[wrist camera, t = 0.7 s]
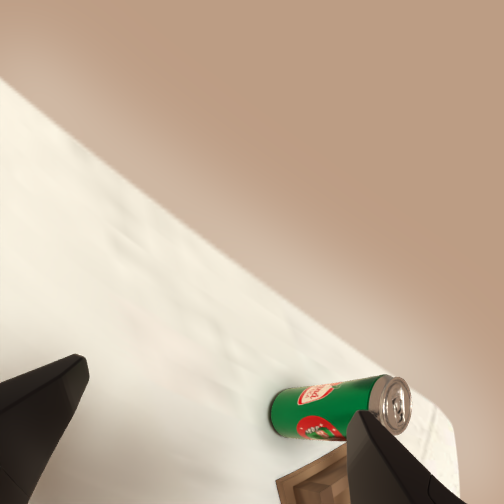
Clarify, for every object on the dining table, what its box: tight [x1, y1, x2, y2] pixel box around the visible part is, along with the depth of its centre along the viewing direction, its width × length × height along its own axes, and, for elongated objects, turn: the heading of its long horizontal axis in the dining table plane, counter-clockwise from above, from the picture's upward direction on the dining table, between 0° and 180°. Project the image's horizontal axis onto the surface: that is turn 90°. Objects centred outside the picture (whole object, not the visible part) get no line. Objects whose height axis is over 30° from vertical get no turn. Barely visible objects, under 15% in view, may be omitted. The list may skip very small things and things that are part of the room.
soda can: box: [271, 374, 412, 441], centre depth 21 cm, size 5×5×12 cm
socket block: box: [276, 442, 351, 504], centre depth 21 cm, size 12×12×4 cm
